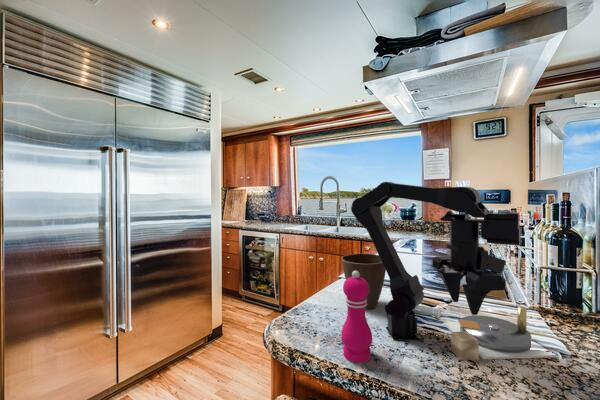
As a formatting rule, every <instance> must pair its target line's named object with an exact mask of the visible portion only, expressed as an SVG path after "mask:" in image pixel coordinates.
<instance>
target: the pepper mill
mask: <svg viewBox="0 0 600 400" xmlns="http://www.w3.org/2000/svg"><path fill="white" fill-rule="evenodd" d="M352 276H353V277H350V278H348V279H347V280H346V279H345V281H344V282H343V287H342V290H343V294H344V295H345V298H344V299H345V301H344V302H345V305H346V307H347V315H346V318H345V321H344V323H343V326H342V329H341V332H340V334H341V335H340V338H341V341H342V343H343V351H342V352H343V353H342V354H343V356H344V358H345V359H346V360H348V361H349V360H350V361H349V362H352V361H353V362H352V363H356V362H359V364H360V362H362V363H365V362H368V361H369V360H370V359H371V356H372V355H371V354H372V353H371V348H370V346H371V345H372V343H373V333H372V330H371V327H370V325H369V323H368V320H367V317H366V309H365V306H367V298H366V296H367V295H368V294H369V285H368V283H367V282H366V281H365V280H364V279H363V278H361V277H359V276H360V274H359V272H358V271H353V272H352Z"/></svg>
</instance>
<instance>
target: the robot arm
mask: <svg viewBox="0 0 600 400" xmlns="http://www.w3.org/2000/svg"><path fill="white" fill-rule="evenodd" d="M391 198H395V199H396V198H397V199H403V200H404V199H405V200H412V201H418V202H425V203H431V204H435V205H437V206H439V207H442V208H445V209H448V210H447V212H446V213H445V214H444V215H443V216H441V217H440V221H441V222H449V238H450V239H449V243H446V244H445V245H446V249H448V250H449V251H450V252H449V253H450V255H446V256H445V255H444V256H441V255H439V256H435V257H434V258H433V259H432V267H433V268H434V269H436V272H437V273H438V275H439V276H440V278H441V280H442V281H443V284H444V286H445V287H446V290H447V292H448V294H449V296H450V298H451V300H452V302H453V303H458V302H459V300H460V291H461V286H462V289H463V292H464V296H465V298H466V301H467V304H468V305H467V306H468V308H469V311H470V313H471V316H472V315H478V314H479V312H480V310H481V307H482V304H483V302H484V300H485V298H486V297H487V295H488V294H489V293H490V292H493V291H506V289H507V280H506V279H505V278H504V277H503V276H502V274H503V272H504V269H505V267H506V264H507V260H505V259H502V258H499V257H496V256H493V255H489V251H488V250H487V249H485V248H484V246H480V235H481V238H482V239H483V240H485V241H486V243H487V244H493V245H494V244H496V245H507V246H518V247H520V246H521V237H522V227H521V225H520V224H521V222H520V213H518V212H506V213H499V212H491V211H490V210H489V209H488V208H487V207H486V206H485V205H484V204H483V203H482V202H481V194H480V193H479V192H478V191H477V189H475V188H473V187H471V186H451V187H449V186H448V187H430V186H429V187H428V186H421V185H412V184H404V183H403V184H402V183H396V182H393V181H383V182H381V183H380V184H379V185H377V186H376V187H375V188H373V189H372V190H370V191H368V192H367V193H365V194H363V196H361V197H358V198H355V199H354V200H353V201H352V204H351V206H350V210H351V213H352V215H353V216H354V217H355V219H356V220H357V222H358V223H359V224H360V226H362V227H363V228H364V229H366V231H367V233H368V235H369V238H370V239H371V241H372V243H373V246H374V248H375V250H376V253H377V255H379V257H380V259H381V261H382V263H383V265H384V267H385V269H386V273H387V275H388V277H389V291H390V294H391V297H392V300H390V301H389V302H388V303H387V304H385V305H383V306H384V310H385V314H386V315H387V326H386V327H385V329H386V331H387V332H388V335H390V337H391V338H392V340H394V341H411V340H413V341H414V340H419V337H418V335H417V334H418V317H417V318H416V313H415V312H414V310H415V309H416V308H417V307H418V306H419V305H420V304H421V303H422V302H423V300H424V297H425V294H424V290H425V287H424V286H422V284H421V283H420V280H419V277H418V275H417V274H415V275H413V276H412V275H411V274H410V273H409V272H407V270H406V268H405V267H404V264H403V262H402V260H401V258H400V255H399V254H398V252H397V250H396V248H395V246H394V244H393V242H392V240H391V237H390V235H389V234H388V232H387V230H386V228H385V225H384V223H383V212H382V209H381V208H382V207H383V206H384V205H386V203H387V202H388V201H389V200H390V199H391ZM454 212H456V213H454ZM460 213H461V214H460ZM463 213H465V214H463ZM469 216H470V217H472V218H470V217H469ZM479 225H480V226H479ZM479 227H480V228H479ZM487 269H488V270H487ZM489 270H490V271H489ZM493 271H495V272H493ZM496 272H497V273H496ZM464 277H465V280H464V281H465V283H466V284H465V283H462V279H463V278H464ZM461 283H462V285H461Z"/></svg>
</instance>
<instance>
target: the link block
mask: <svg viewBox="0 0 600 400" xmlns="http://www.w3.org/2000/svg"><path fill="white" fill-rule="evenodd" d="M450 336H451V337H450V338H451V339H450V341H451V342H450V343H451V344H450V345H451V346H450V347H451V348H450V350H451V352H453V354H455V355H456V357H457V358H458V359H459V360H460V361H477V360H478V361H479V357H480V356H479V340H478V339H476V338H475V337H474V336H473V335H471V334H470V333H469V332H452V331H450Z"/></svg>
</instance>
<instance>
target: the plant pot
mask: <svg viewBox="0 0 600 400" xmlns="http://www.w3.org/2000/svg"><path fill="white" fill-rule="evenodd" d="M341 263H342V269H343V273H344V274H343V275H344V277H345V281H346V280H347V279H348V278H350V277H353V276H352V272H353V271H358V272H359V274H360V276H359V277H361V278H363V279H364V280H365V281H366V282H367V283H368V285H369V294H368V295H367V296H366V298H367V306H365V310H372V309H375V308H376V307H377V305H378V302H379V300H380V296H381V295H382V289H383V286H384V282H385V277H386V273H387V271H386V269H385V267H384V265H383V263H382V261H381V259H380V257H379V254H374V253H351V254H348V255H347V254H346V255H343V256H342V257H341Z"/></svg>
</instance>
